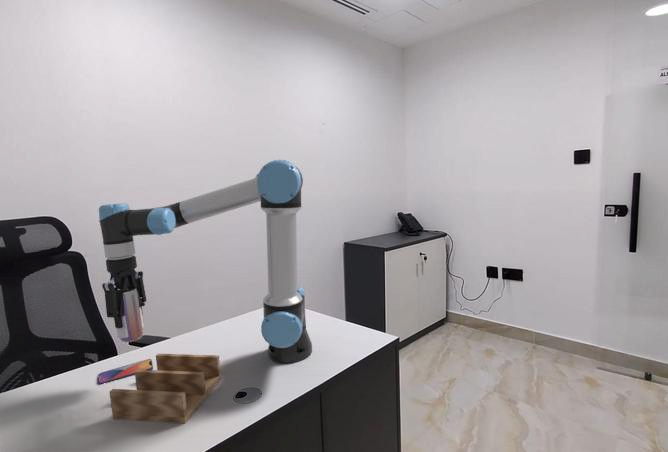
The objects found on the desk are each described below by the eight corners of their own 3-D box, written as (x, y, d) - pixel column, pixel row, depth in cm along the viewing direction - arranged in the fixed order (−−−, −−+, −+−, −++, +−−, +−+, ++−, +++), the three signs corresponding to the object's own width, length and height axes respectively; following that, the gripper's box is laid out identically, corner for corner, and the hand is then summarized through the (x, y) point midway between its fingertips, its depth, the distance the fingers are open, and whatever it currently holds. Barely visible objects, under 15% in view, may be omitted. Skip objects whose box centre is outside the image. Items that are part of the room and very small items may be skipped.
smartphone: (99, 376, 111) (98, 373, 111) (151, 361, 119) (151, 358, 119) (98, 387, 105) (97, 384, 105) (153, 370, 112) (153, 367, 112)
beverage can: (119, 344, 100) (112, 294, 98) (121, 337, 106) (114, 289, 104) (143, 339, 103) (136, 290, 101) (143, 332, 108) (137, 285, 106)
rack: (221, 378, 106) (219, 355, 105) (185, 423, 86) (182, 395, 85) (160, 376, 108) (158, 353, 107) (112, 418, 89) (109, 391, 88)
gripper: (132, 250, 111) (141, 319, 114) (81, 265, 92) (94, 347, 95) (153, 249, 110) (162, 319, 113) (106, 264, 91) (119, 347, 94)
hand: (131, 332), depth 104 cm, fingers closed on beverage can, 6 cm apart
